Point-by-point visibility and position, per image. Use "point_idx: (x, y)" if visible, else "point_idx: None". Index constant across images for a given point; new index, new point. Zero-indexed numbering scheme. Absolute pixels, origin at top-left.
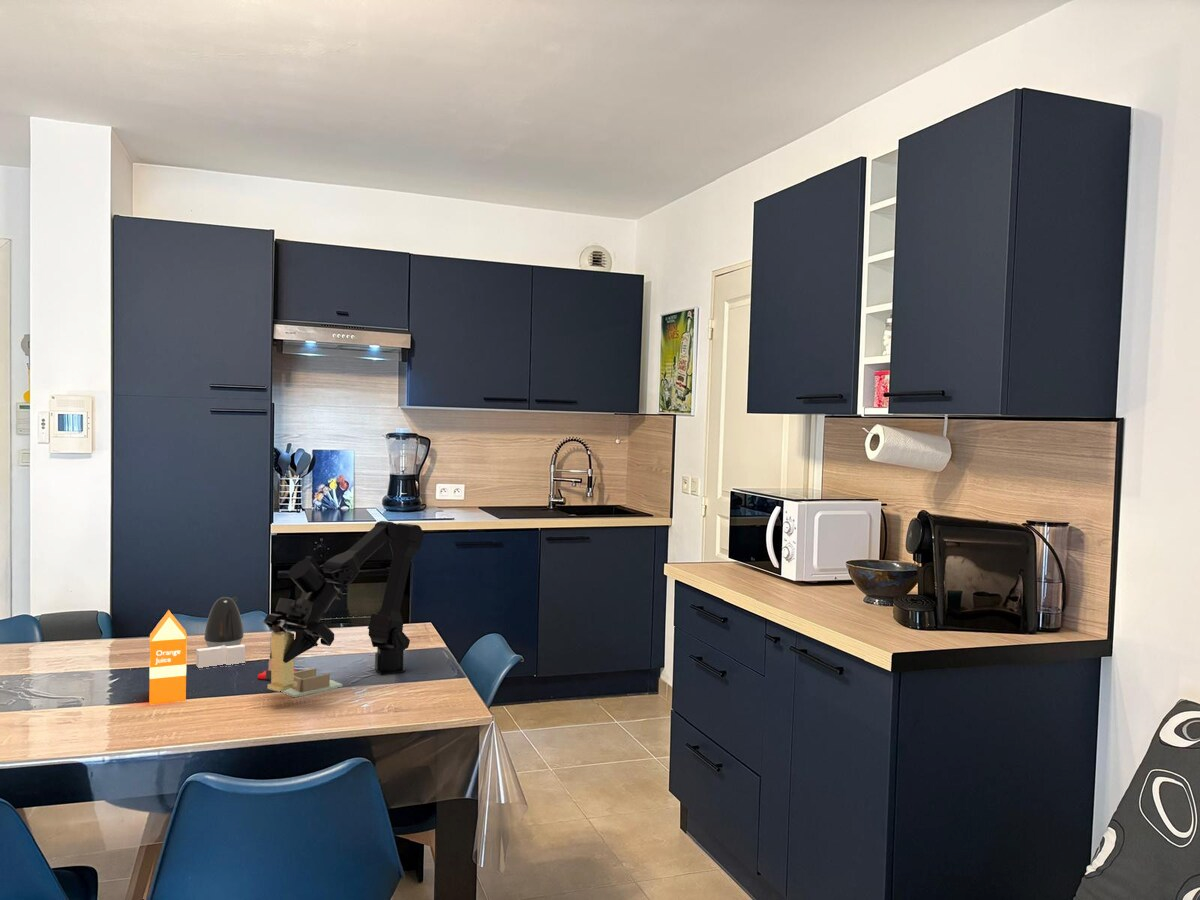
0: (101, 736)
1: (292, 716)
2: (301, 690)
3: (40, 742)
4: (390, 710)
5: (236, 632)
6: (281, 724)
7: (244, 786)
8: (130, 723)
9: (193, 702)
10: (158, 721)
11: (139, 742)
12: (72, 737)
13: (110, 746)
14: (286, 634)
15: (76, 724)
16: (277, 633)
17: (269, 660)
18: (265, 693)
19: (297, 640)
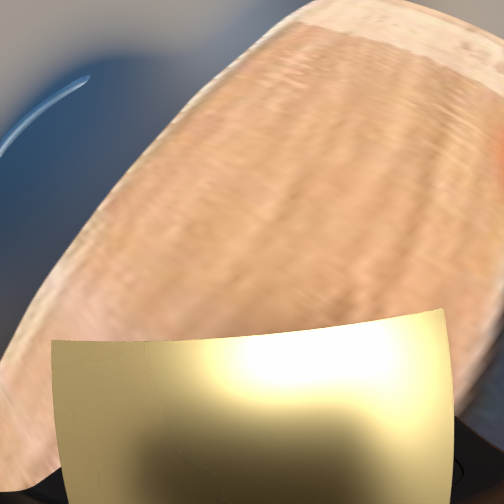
0: (369, 33)
1: (164, 332)
2: None
3: (391, 8)
4: None
5: None
6: (137, 266)
7: (35, 109)
8: (415, 72)
9: (497, 207)
10: (399, 96)
11: (294, 45)
12: (390, 22)
13: (309, 26)
14: (113, 475)
15: (451, 46)
16: (363, 423)
17: None
18: None
19: (54, 486)
